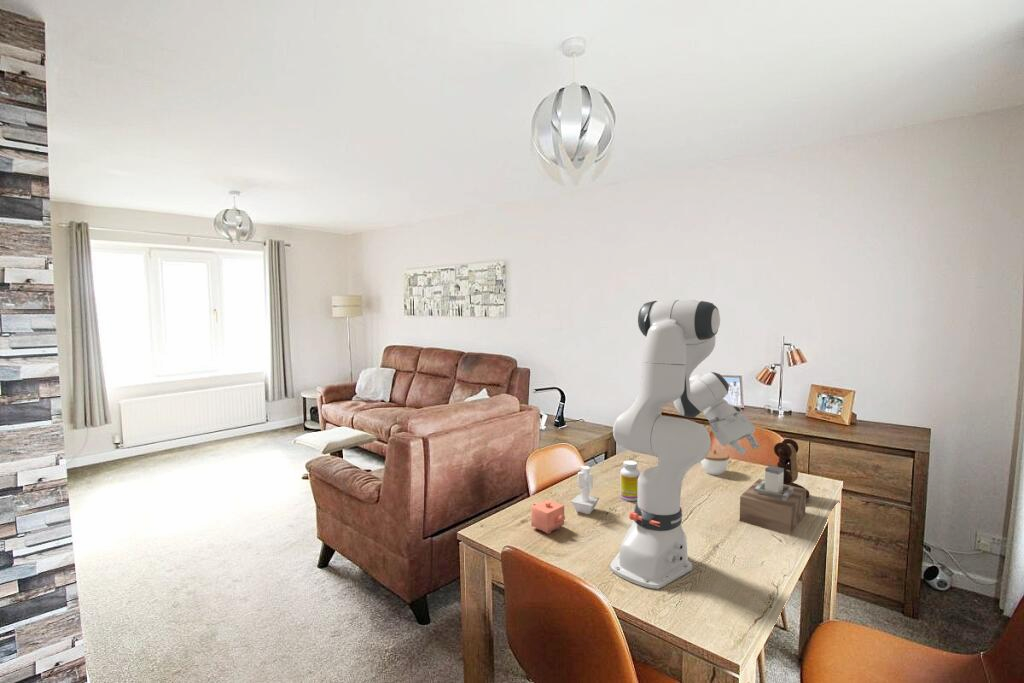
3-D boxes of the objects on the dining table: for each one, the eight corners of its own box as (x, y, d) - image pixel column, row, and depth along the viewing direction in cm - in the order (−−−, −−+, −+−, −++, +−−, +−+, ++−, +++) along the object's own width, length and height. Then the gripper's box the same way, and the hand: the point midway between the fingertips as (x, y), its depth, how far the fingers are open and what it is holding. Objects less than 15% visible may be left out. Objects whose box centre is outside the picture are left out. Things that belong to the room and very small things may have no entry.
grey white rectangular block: (778, 496, 146) (778, 471, 146) (764, 492, 149) (765, 468, 149) (782, 492, 149) (783, 468, 148) (769, 489, 152) (770, 465, 151)
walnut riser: (789, 535, 138) (791, 504, 137) (739, 520, 147) (740, 491, 146) (805, 513, 152) (806, 484, 151) (758, 501, 162) (759, 474, 161)
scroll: (800, 508, 156) (803, 449, 154) (754, 495, 167) (756, 440, 165) (815, 496, 165) (817, 441, 164) (770, 484, 176) (772, 432, 175)
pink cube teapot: (556, 540, 137) (555, 513, 136) (526, 526, 145) (526, 501, 144) (572, 531, 142) (572, 504, 141) (543, 518, 151) (543, 493, 150)
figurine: (600, 507, 158) (600, 464, 157) (590, 518, 150) (590, 472, 149) (580, 502, 162) (580, 460, 161) (569, 513, 154) (569, 469, 152)
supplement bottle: (640, 502, 162) (640, 466, 161) (620, 501, 163) (620, 465, 162) (638, 494, 168) (639, 459, 167) (620, 493, 170) (620, 458, 169)
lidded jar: (733, 477, 184) (734, 454, 183) (706, 477, 184) (706, 454, 184) (721, 467, 195) (722, 445, 194) (695, 468, 195) (696, 446, 194)
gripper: (713, 415, 152) (743, 451, 145) (741, 406, 165) (770, 439, 158) (700, 426, 156) (729, 462, 149) (728, 416, 169) (756, 449, 162)
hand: (750, 450), depth 154 cm, fingers open, 8 cm apart
